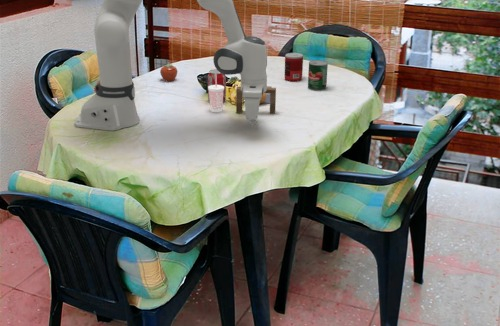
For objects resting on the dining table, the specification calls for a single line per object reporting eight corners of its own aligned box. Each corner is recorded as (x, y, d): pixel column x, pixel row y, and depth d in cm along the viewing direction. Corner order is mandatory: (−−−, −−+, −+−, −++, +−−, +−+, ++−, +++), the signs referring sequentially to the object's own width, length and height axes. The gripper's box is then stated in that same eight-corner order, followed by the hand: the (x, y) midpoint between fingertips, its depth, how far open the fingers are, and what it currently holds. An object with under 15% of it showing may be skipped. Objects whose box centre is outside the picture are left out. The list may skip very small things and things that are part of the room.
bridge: (275, 113, 231) (275, 90, 227) (236, 112, 232) (236, 88, 228) (275, 111, 234) (275, 87, 230) (236, 110, 234) (236, 86, 231)
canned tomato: (326, 85, 265) (327, 60, 260) (326, 91, 257) (328, 65, 253) (307, 85, 265) (309, 59, 261) (307, 90, 258) (308, 64, 254)
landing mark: (241, 103, 242) (241, 102, 242) (244, 93, 253) (244, 93, 253) (272, 104, 241) (272, 103, 241) (273, 94, 252) (273, 94, 252)
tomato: (164, 83, 266) (163, 65, 263) (158, 79, 272) (157, 61, 268) (180, 81, 269) (179, 63, 266) (173, 76, 275) (173, 59, 272)
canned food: (305, 78, 274) (306, 54, 270) (296, 83, 268) (297, 58, 264) (290, 76, 278) (290, 51, 273) (281, 80, 272) (281, 55, 267)
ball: (253, 98, 245) (252, 107, 241) (252, 87, 241) (251, 95, 237) (267, 97, 244) (266, 106, 240) (266, 86, 241) (265, 94, 237)
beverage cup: (209, 113, 231) (208, 76, 225) (207, 107, 237) (206, 72, 231) (225, 112, 232) (225, 75, 226) (223, 106, 238) (222, 71, 232)
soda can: (223, 104, 241) (223, 74, 236) (206, 103, 242) (205, 73, 237) (227, 98, 247) (227, 69, 242) (210, 97, 248) (210, 68, 243)
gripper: (246, 76, 220) (246, 113, 226) (242, 93, 202) (242, 133, 207) (264, 77, 220) (263, 113, 226) (261, 94, 201) (260, 134, 207)
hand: (253, 123), depth 216 cm, fingers closed
